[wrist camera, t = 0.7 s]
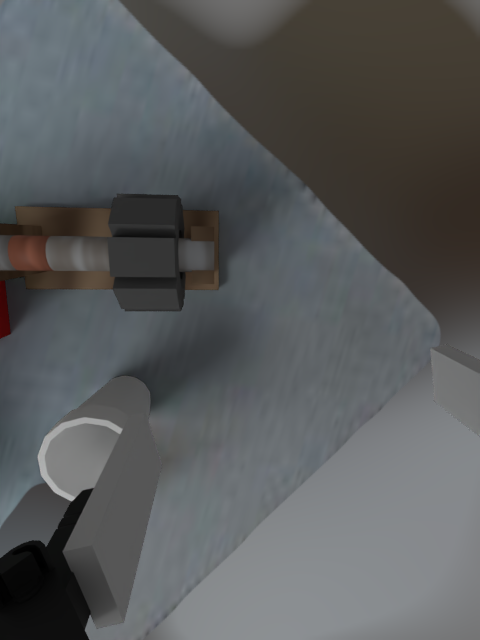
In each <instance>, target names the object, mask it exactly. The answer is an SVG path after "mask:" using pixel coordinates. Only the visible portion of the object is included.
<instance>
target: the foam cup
mask: <svg viewBox="0 0 480 640" xmlns="http://www.w3.org/2000/svg"><path fill="white" fill-rule="evenodd" d="M150 406H151V398H150V391H149V390H148V388H147V386H146V385H145V383H143V382H142V381H140V380H139V379H137V378H136V377H131V376H120V377H116V378H113V379H112V380H110V381H109V382H108V383H107V384H106V385H104V386H103V387H102V388H101V389H100V390H98V391H97V392H96V393H95V394H94V395H92V396H91V397H90V398H89V399H88V400H87V401H85V402H84V403H83V404H82V405H81V406H79V407H78V408H77V409H74V410H72V411H70V412H69V413H68V414H67V415H66V416H64V417H63V418H62V419H61V420H60V421H58V422H57V423H56V424H55V426H54V427H53V428H52V429H51V430H50V431H49V433H48V434H47V435H46V436H45V438H44V440H43V443H42V446H41V448H40V451H39V454H38V461H39V466H40V472H41V476H42V477H43V479H44V480H45V481H46V482H47V484H48V485H49V486H50V487H51V489H52V490H53V491H54V492H55V493H56V494H58V495H60V496H63V497H64V498H66V499H68V500H70V501H73V500H74V499H75V498H76V497H77V496H78V495H79V494H80V493H81V491H82V490H86V489H91V488H94V487H95V485H96V483H97V481H98V479H99V477H100V474H101V472H102V470H103V468H104V466H105V464H106V462H107V460H108V458H109V456H110V454H111V452H112V450H113V448H114V446H115V444H116V442H117V440H118V438H119V436H120V434H121V432H122V430H123V428H124V426H125V424H126V422H127V420H128V417H129V416H133V415H137V414H141V413H146V415H147V418H148V421H149V415H150Z"/></svg>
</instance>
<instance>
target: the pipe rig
mask: <svg viewBox="0 0 480 640" xmlns="http://www.w3.org/2000/svg"><path fill="white" fill-rule="evenodd" d="M15 211H16V218H17V224H2V223H0V281H4V280H9V279H14V278H18V277H23V276H25V283H26V289H113V284H114V279H115V277H110V268H109V255H108V242H107V237H112V234H111V231H110V229H109V226H108V221H109V216H110V212H111V209H110V208H66V207H22V206H15ZM183 218H184V227H185V229H184V238H179V241H178V258H179V272H185V275H186V279H185V290H219V211H197V210H183Z"/></svg>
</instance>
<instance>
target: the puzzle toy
mask: <svg viewBox="0 0 480 640" xmlns="http://www.w3.org/2000/svg"><path fill="white" fill-rule="evenodd" d="M9 334H11V333H10V323H9V314H8V305H7V296H6V287H5V280H4V281H0V339H1V338H3V337H5V336H7V335H9Z"/></svg>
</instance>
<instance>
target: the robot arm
mask: <svg viewBox="0 0 480 640" xmlns="http://www.w3.org/2000/svg"><path fill="white" fill-rule="evenodd" d="M431 362H432V376H433V389H434V402H435V403H436V404H438V405H439V406H440V407H442V408H443V409H444V410H445V411H447V412H448V413H449V414H451V415H452V416H453V417H454V418H456V419H457V420H458V421H460V422H461V423H462V424H464V425H465V426H466V427H468V428H469V429H470V430H472V431H473V432H474V433H475V434H477V435H478V436H479V437H480V360H479V359H477V358H475V357H473V356H470V355H468V354H466V353H464V352H462V351H460V350H458V349H455V348H453V347H451V346H449V345H442V346H438V347H433V348H431ZM161 468H162V462H161V458H160V455H159V452H158V449H157V446H156V443H155V440H154V436H153V433H152V430H151V427H150V424H149V421H148V418H147V415H146V413H141V414H137V415H133V416H129V417H128V420H127V422H126V424H125V426H124V428H123V430H122V432H121V434H120V436H119V438H118V440H117V442H116V444H115V446H114V448H113V450H112V452H111V454H110V456H109V458H108V460H107V462H106V464H105V466H104V468H103V470H102V472H101V474H100V477H99V479H98V481H97V483H96V485H95V487H94V488H91V489H86V490H82V491H81V493H80V494H79V495H78V496H77V497H76V498H75V499H74V500H73V501H72V502H71V503H70V505H69V507H68V509H67V511H66V512H65V514H64V518H62V520H61V522H60V523H59V525H58V529H56V531H55V532H54V534H53V536H52V538H51V540H50V541H49V543H48V545H47V547H45V545H44V544H43V543H42V542H41V541H34V540H32V541H29V542H26V543H23V544H21V545H19V546H17V547H15V548H13V549H12V550H10V551H9V552H8V553H6V554H5V555H4V556H3V557H1V558H0V640H89V638H88V636H87V634H86V632H85V627H86V624H87V621H88V618H89V615H91V617H92V619H93V622H94V624H95V626H96V628H97V629H98V628H103V627H107V626H111V625H115V624H120V623H124V620H125V616H126V612H127V608H128V604H129V600H130V595H131V591H132V587H133V583H134V579H135V575H136V571H137V567H138V562H139V558H140V554H141V550H142V546H143V542H144V538H145V534H146V529H147V525H148V521H149V517H150V513H151V509H152V505H153V501H154V496H155V492H156V488H157V484H158V480H159V476H160V472H161Z"/></svg>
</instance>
